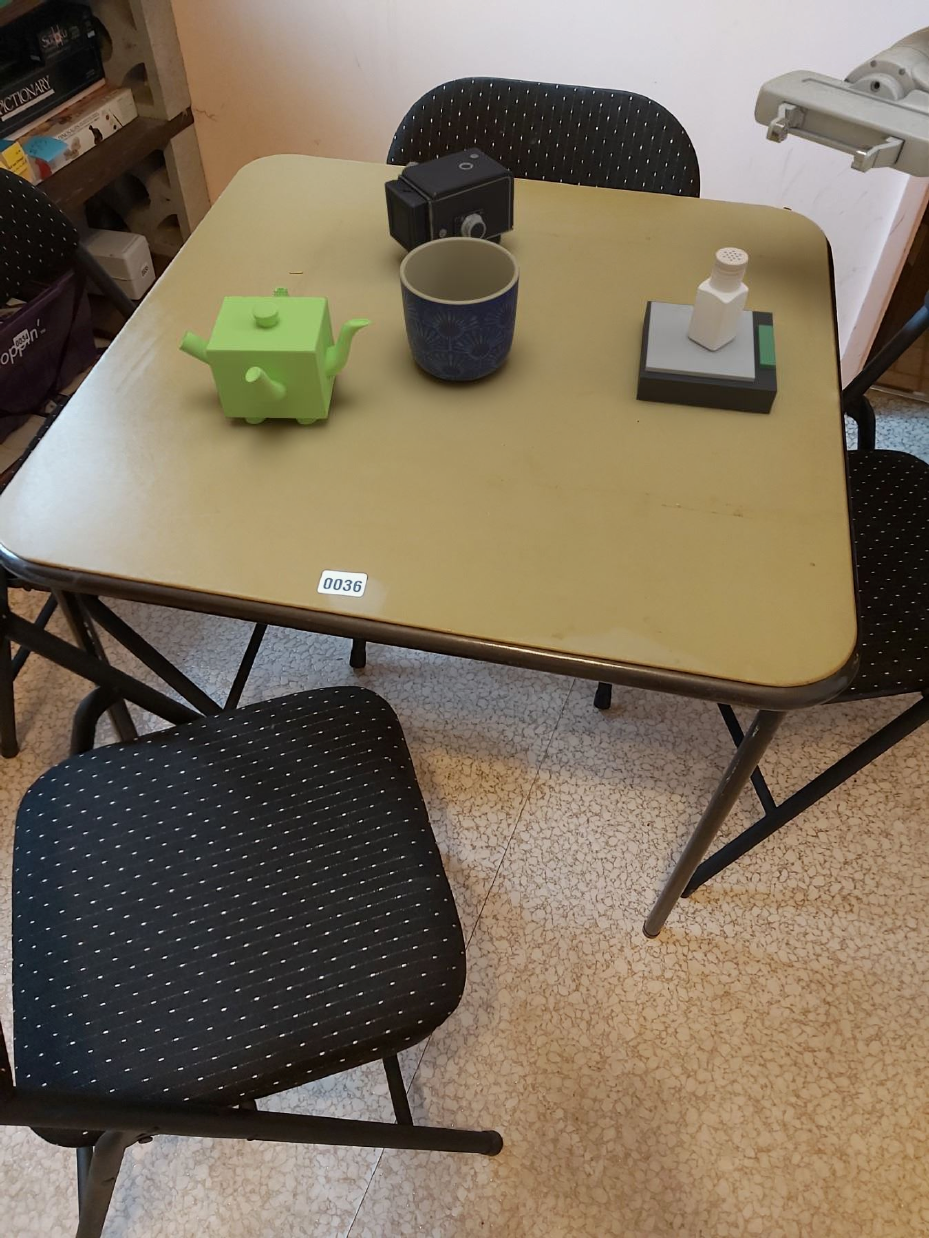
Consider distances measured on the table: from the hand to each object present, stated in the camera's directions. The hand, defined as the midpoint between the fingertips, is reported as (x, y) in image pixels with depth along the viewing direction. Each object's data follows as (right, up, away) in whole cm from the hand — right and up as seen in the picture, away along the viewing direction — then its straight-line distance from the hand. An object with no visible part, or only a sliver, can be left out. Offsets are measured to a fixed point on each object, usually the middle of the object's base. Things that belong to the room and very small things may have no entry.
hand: (815, 147), depth 83 cm
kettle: (-54, -24, +7) cm, 59 cm away
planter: (-35, -17, +12) cm, 41 cm away
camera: (-36, 0, +25) cm, 44 cm away
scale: (-8, -19, +10) cm, 23 cm away
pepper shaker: (-8, -17, +8) cm, 20 cm away
